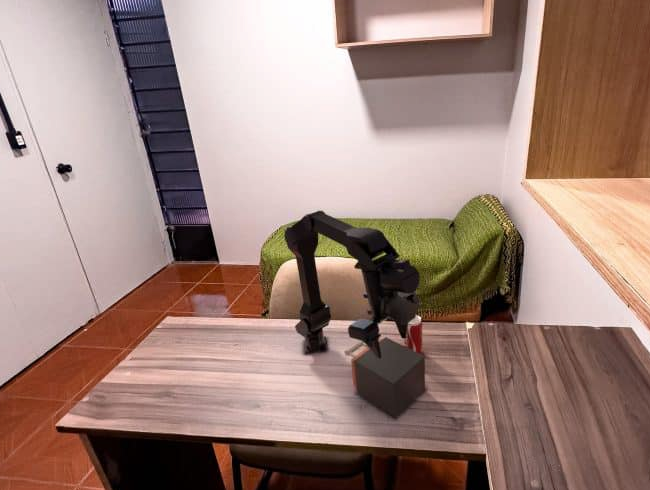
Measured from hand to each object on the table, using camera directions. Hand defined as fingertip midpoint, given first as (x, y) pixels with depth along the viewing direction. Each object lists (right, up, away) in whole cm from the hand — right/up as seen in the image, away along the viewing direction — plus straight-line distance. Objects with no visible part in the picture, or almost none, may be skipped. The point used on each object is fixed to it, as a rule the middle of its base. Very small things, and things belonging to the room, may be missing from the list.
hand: (391, 347), depth 91 cm
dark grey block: (0, -13, +8) cm, 15 cm away
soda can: (+7, -7, +21) cm, 23 cm away
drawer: (-3, -11, +11) cm, 16 cm away
